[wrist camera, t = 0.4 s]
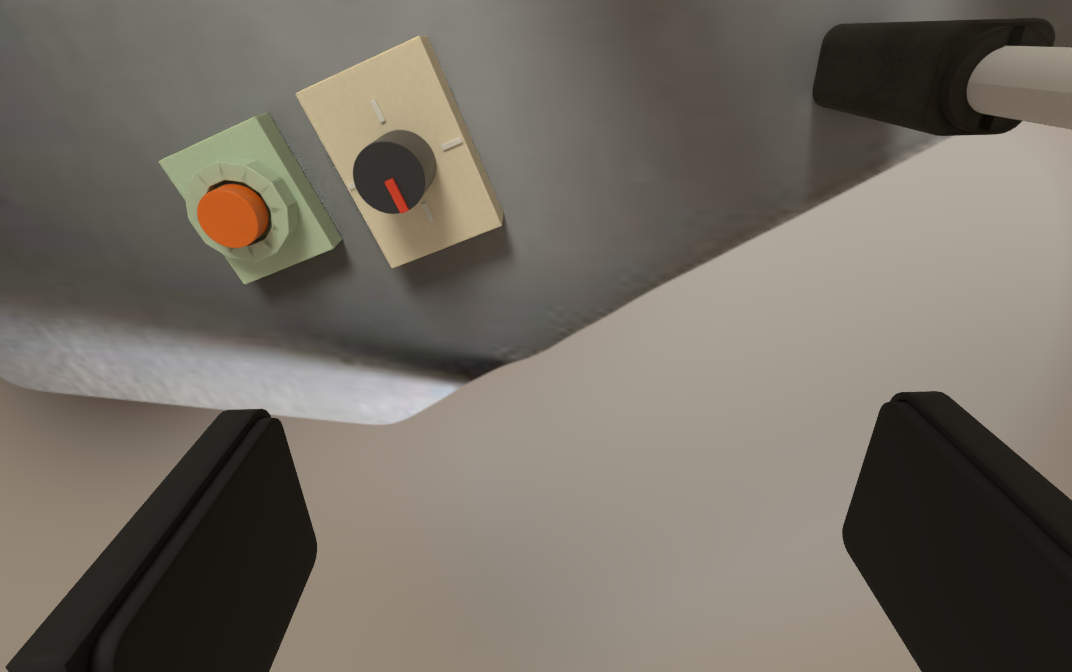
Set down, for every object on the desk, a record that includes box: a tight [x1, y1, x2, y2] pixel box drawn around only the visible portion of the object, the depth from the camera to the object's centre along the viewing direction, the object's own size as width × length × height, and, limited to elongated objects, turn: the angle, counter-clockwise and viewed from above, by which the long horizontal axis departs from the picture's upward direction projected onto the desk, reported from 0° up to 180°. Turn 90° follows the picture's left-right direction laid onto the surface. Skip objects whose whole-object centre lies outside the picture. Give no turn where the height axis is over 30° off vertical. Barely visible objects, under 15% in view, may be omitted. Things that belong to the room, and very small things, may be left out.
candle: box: [813, 18, 1072, 136], centre depth 27 cm, size 5×5×25 cm
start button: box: [197, 184, 269, 248], centre depth 38 cm, size 4×4×2 cm
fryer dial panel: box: [296, 36, 504, 268], centre depth 39 cm, size 13×9×3 cm
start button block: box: [159, 113, 342, 285], centre depth 40 cm, size 10×8×4 cm
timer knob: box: [353, 130, 436, 214], centre depth 36 cm, size 4×4×5 cm
